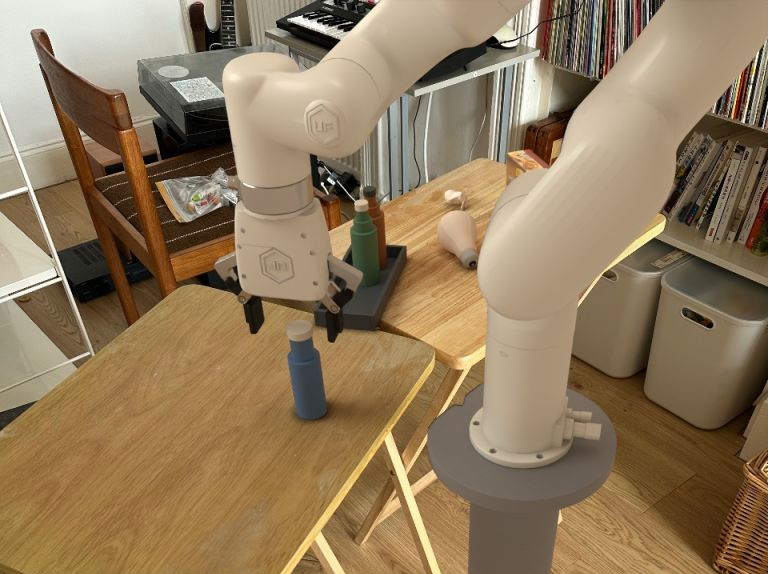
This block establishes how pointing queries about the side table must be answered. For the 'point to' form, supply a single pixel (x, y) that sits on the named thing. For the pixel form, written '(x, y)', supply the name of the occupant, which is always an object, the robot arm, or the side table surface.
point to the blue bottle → (305, 371)
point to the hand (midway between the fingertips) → (295, 332)
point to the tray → (368, 293)
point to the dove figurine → (456, 197)
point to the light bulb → (459, 236)
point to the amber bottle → (377, 223)
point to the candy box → (522, 164)
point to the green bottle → (365, 245)
